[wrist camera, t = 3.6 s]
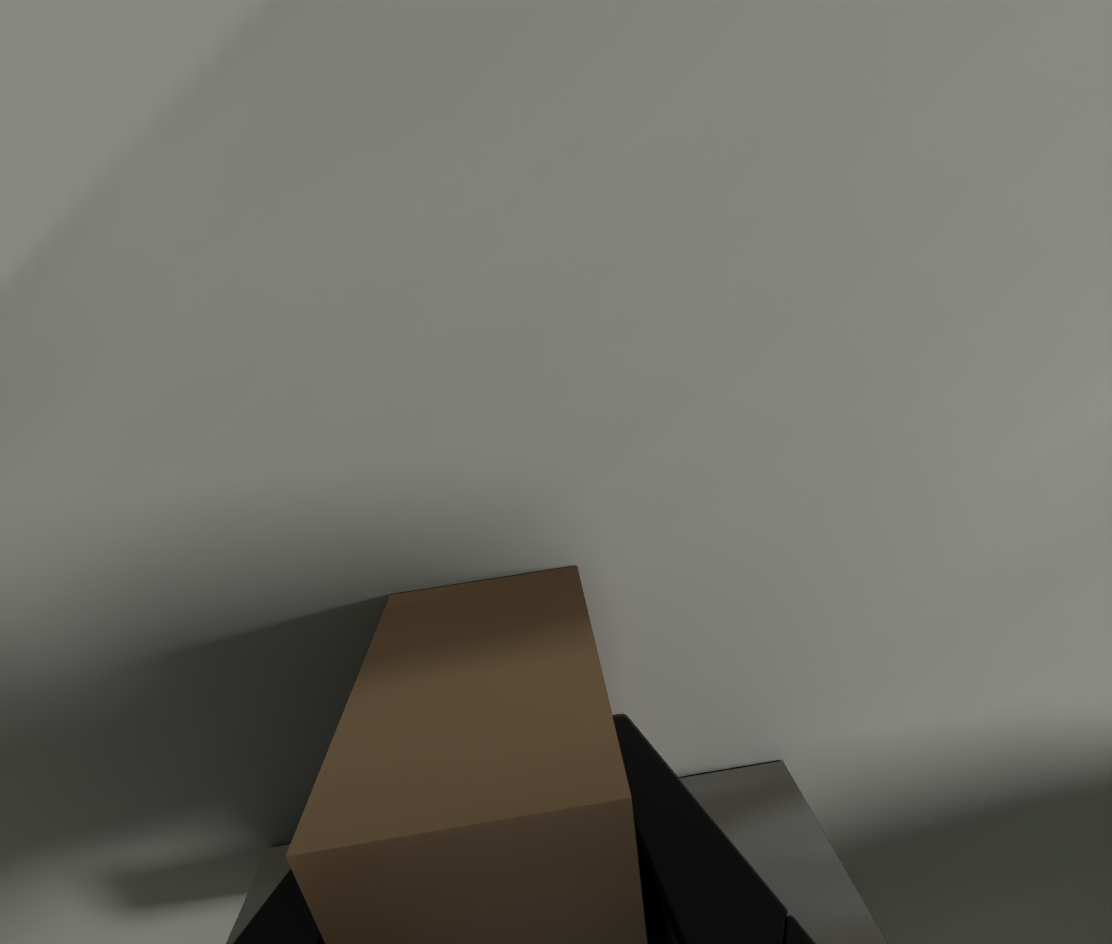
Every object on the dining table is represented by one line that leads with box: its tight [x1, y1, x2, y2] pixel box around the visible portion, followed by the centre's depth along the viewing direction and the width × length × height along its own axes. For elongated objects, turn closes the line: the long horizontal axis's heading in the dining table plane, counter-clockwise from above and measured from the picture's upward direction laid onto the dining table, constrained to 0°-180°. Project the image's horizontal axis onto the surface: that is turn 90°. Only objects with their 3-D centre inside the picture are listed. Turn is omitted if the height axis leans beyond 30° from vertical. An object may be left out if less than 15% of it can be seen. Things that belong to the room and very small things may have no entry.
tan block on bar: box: [226, 566, 888, 944], centre depth 7 cm, size 6×10×4 cm, turn 97°
